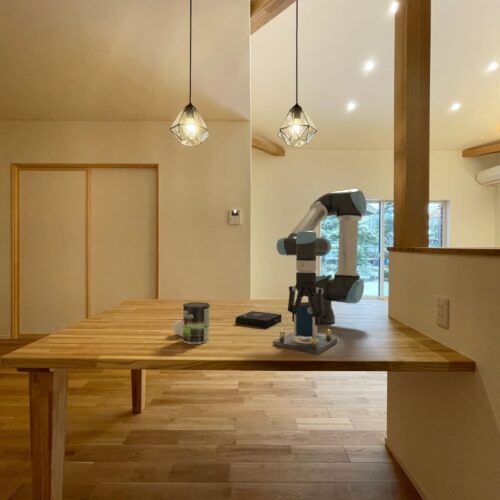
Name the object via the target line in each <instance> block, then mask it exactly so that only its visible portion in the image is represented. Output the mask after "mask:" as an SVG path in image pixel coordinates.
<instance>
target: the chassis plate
mask: <svg viewBox="0 0 500 500" xmlns="http://www.w3.org/2000/svg"><path fill="white" fill-rule="evenodd" d="M337 343H338V338H336V337H332V329H330V328H328V329H327V328H326V329H325V335H320V334H319V335H318V334H315V335H313V336H312V337H302V336H299V335H298V334H297V332H295V331H293V332H291V333H288V334H286V335H285V330H279V338H277V339H274V340H272V346H274V347H275V346H276V347H280V348H285V349H289V350H294V351H298V352H303V353H307V354H312V355H313V354H314V355H319V354H321V353H323V352H324V351H326V350H327V349H329V348H330V347H333V346H335V345H336V344H337Z"/></svg>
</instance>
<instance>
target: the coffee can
mask: <svg viewBox="0 0 500 500" xmlns="http://www.w3.org/2000/svg"><path fill="white" fill-rule="evenodd" d="M182 307H183V314H182V315H183V319H182V320H183V336H182V342H183V344H184V343H185V344H189V345H201V344H205V343H208V342H210V307H211V304H210V303H207V302H201V301H200V302H195V301H193V302H186V303H184V304H182Z"/></svg>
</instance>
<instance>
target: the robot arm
mask: <svg viewBox="0 0 500 500" xmlns="http://www.w3.org/2000/svg"><path fill="white" fill-rule="evenodd" d="M366 201H367V200H366V197H365V193H364V192H363V191H362V190H360V189H348V190H347V189H346V190H339V191H330V192H328V193H325V194H324V195H322V196H320V197H318V198H317V199H315V200H314V202H313V203H312V204H311V205H310V206H309V209H308V211H307V213H306V214H305V215H304V217H303V218H302V219H301V220H300V221H299V223H298V224H297V225H296V226H295V227H294V229H293V230H292V231H291V232H290V234H288V236H287V237H282V238H279V239H278V240H277V242H276V250H277V253H278V254H279V255H281V256H286V257H288V256H296V260H295V261H296V262H295V263H296V264H295V270H296V271H297V272H296V273H295V281H296V284H295V285H290V286H289V287H288V291H289V294H288V302H287V303H288V304H287V305H288V306H287V312H290V313H291V314H292V317H291V319H292V322H293V332H296V314H297V306H298V303H300V302H302V301H303V298H304V297H306V298H307V302H309V303H311V306H312V309H313V312H314V315H315V316H314V317H313V334H312V335H318V326H320V325H329V324H333V323H335V322H336V316H335V313H334V310H333V306H332V302H336V303H343V304H358V303H360V301H361V300H362V297H363V296H364V295H363V294H364V291H365V284H364V283H365V282H364V280H363V279H362V278H361V277H360V276H361V275H360V274H359V273H358V272H357V267H358V265H357V263H358V262H357V261H358V237H359V236H358V233H359V232H358V231H359V222H360V220H361V219H362V217H363V216H362V215H364V214H366V212H367V202H366ZM331 216H336V218H335V219H337V220H338V222H339V224H338V225H339V228H338V253H337V254H338V255H337V257H338V258H337V259H338V260H337V271H336V272H335V273H334V275H332V274H317V273H316V271H317V257H324V256H327V255H328V254H329V253H330V252H331V249H332V245H331V242H330V240H329V239H328V238H325V237H322V236H321V237H318V236H317V232H316V231H315V230H316V228H317V227H318V226H319V224H320V223H321V222H322V221H324V220H325V219H326V218H327V217H331ZM333 276H334V277H333ZM296 291H297V294H296Z"/></svg>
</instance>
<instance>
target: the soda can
mask: <svg viewBox="0 0 500 500" xmlns="http://www.w3.org/2000/svg"><path fill="white" fill-rule="evenodd" d="M314 316H315V315H314V312H313V309H312V306H311V303H309V302H308V301H307V302H306V301H305V302H304V301H303V302H302V301H301V302H300V303H298V306H297V314H296V332H297V334H298V335H299V336H302V337H312V336H313V335H312V334H313V317H314Z"/></svg>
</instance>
